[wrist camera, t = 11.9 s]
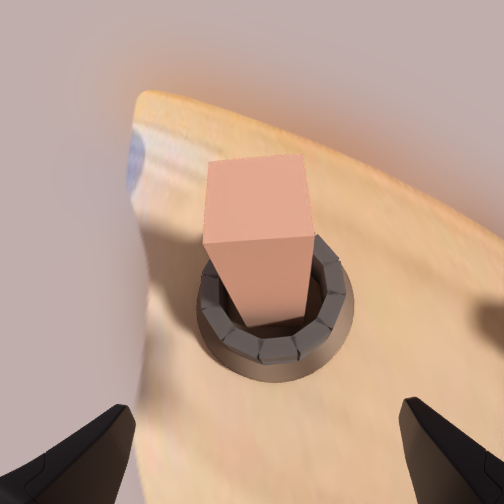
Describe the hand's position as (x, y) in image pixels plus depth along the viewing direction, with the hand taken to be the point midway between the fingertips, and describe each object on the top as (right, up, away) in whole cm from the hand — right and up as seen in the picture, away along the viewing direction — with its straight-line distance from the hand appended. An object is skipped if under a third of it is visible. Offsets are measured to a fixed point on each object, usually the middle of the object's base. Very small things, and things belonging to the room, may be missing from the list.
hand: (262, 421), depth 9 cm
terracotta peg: (+1, +1, +15) cm, 15 cm away
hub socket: (+1, +1, +16) cm, 16 cm away
